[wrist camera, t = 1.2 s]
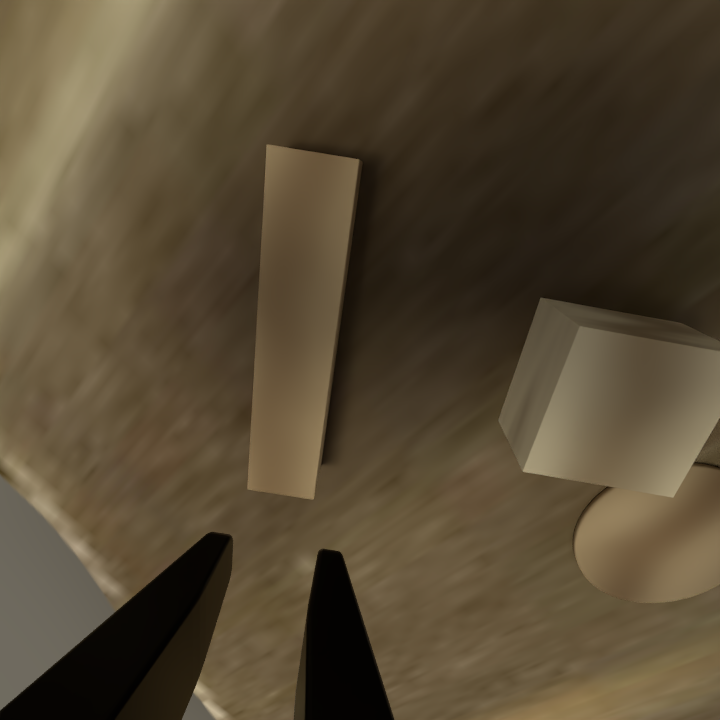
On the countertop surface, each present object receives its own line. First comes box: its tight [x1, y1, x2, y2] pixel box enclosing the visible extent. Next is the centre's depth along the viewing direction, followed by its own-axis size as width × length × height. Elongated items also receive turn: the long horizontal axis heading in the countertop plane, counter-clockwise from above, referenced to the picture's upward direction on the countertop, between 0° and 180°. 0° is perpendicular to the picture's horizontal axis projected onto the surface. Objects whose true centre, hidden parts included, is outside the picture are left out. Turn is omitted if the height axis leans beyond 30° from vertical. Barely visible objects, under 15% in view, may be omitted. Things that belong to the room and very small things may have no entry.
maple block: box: [498, 298, 720, 498], centre depth 17 cm, size 6×6×4 cm
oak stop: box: [248, 144, 363, 500], centre depth 18 cm, size 3×14×2 cm, turn 171°
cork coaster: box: [573, 463, 720, 603], centre depth 22 cm, size 9×9×1 cm
